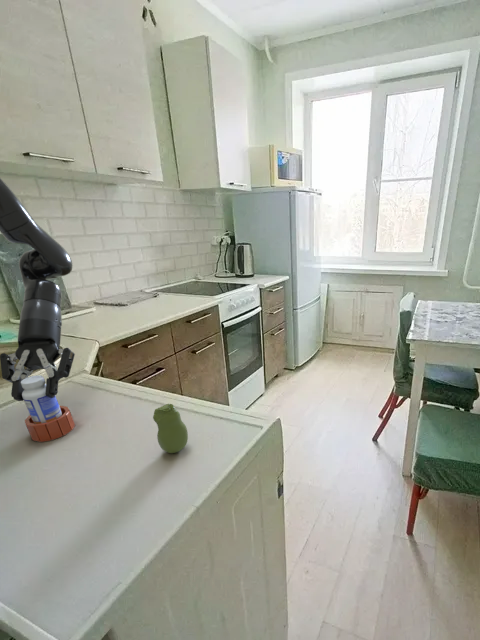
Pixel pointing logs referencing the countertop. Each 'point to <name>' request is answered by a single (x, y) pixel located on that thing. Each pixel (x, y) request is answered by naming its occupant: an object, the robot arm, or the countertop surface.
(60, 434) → the ring holder
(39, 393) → the pill bottle
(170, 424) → the pear
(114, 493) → the countertop surface
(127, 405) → the countertop surface
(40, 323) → the robot arm
